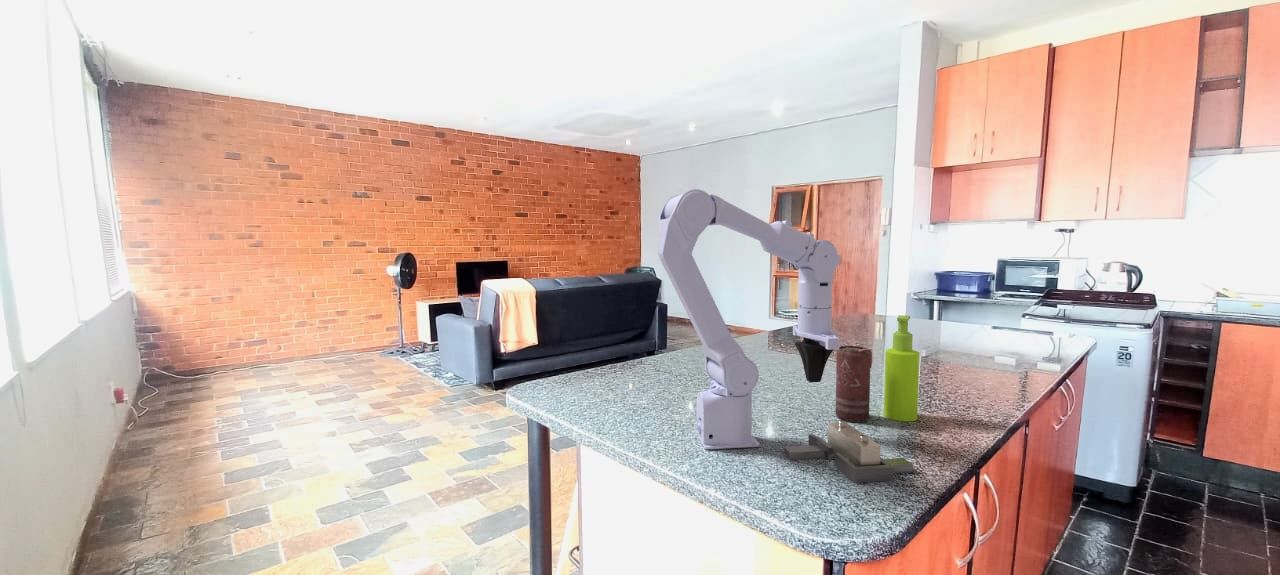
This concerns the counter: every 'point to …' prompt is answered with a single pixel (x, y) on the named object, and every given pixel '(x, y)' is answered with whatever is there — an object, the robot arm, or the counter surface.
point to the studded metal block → (853, 444)
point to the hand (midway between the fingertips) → (813, 381)
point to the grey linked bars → (855, 474)
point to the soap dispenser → (901, 375)
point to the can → (853, 383)
